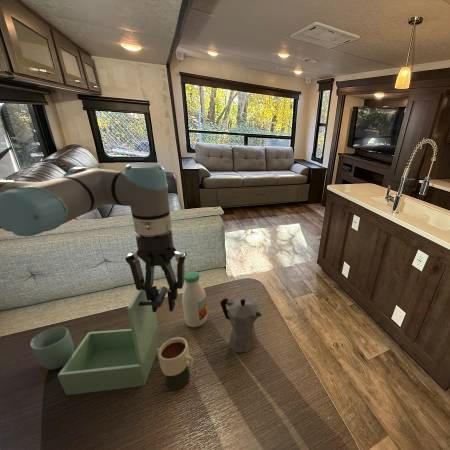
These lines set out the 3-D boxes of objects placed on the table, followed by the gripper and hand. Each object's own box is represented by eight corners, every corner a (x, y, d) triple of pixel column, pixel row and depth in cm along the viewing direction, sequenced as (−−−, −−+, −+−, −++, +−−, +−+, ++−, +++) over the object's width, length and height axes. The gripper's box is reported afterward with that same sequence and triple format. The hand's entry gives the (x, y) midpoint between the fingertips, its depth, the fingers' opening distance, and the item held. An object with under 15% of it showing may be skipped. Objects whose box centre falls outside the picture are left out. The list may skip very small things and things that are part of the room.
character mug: (202, 374, 73) (199, 342, 68) (187, 398, 66) (182, 365, 61) (170, 364, 75) (164, 332, 69) (152, 387, 68) (144, 354, 63)
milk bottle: (192, 331, 86) (187, 285, 78) (180, 320, 90) (174, 275, 82) (211, 319, 92) (208, 274, 84) (199, 309, 96) (195, 266, 88)
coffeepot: (266, 338, 86) (268, 298, 79) (251, 360, 78) (252, 317, 71) (230, 322, 91) (229, 283, 84) (213, 341, 83) (210, 299, 76)
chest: (66, 395, 64) (57, 375, 61) (94, 350, 76) (88, 332, 73) (144, 385, 68) (140, 366, 65) (160, 344, 80) (156, 326, 77)
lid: (126, 308, 57) (155, 307, 59) (147, 274, 70) (170, 273, 71) (138, 365, 65) (163, 363, 66) (155, 325, 77) (175, 324, 78)
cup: (38, 363, 71) (26, 338, 67) (72, 345, 77) (63, 321, 73) (46, 379, 67) (33, 354, 63) (82, 359, 73) (72, 335, 69)
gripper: (105, 237, 53) (124, 320, 62) (188, 238, 57) (193, 316, 66) (121, 223, 60) (136, 300, 69) (194, 225, 63) (198, 297, 72)
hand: (164, 308), depth 67 cm, fingers open, 3 cm apart
